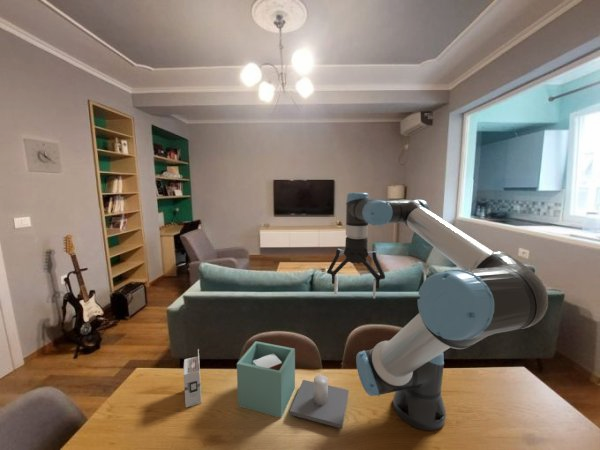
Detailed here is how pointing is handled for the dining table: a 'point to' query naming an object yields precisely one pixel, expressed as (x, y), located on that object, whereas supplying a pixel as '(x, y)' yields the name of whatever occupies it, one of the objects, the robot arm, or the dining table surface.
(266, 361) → the small box
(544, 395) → the dining table surface
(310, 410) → the lid
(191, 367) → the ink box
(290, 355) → the box
